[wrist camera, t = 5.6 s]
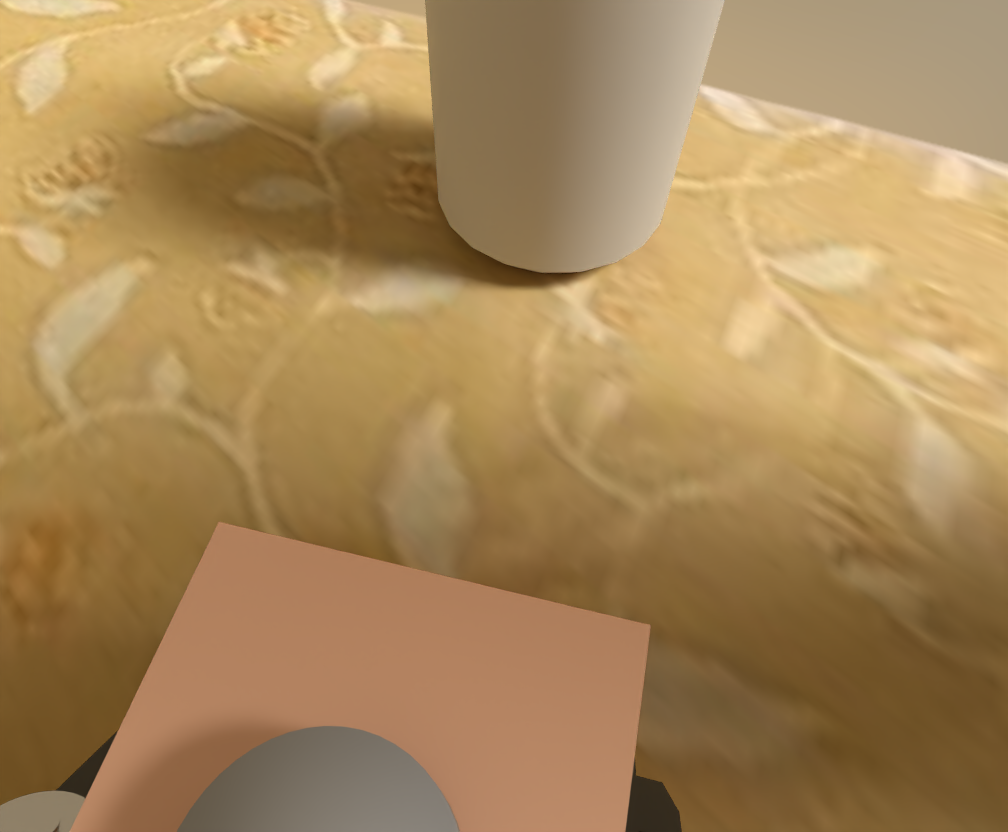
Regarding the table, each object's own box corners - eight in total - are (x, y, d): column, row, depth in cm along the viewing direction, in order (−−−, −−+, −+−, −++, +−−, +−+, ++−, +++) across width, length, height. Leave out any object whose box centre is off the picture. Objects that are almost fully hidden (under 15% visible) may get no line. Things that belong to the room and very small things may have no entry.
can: (562, 332, 21) (639, -152, 11) (391, 210, 24) (324, -277, 13) (703, 207, 24) (867, -265, 14) (538, 111, 27) (574, -349, 16)
